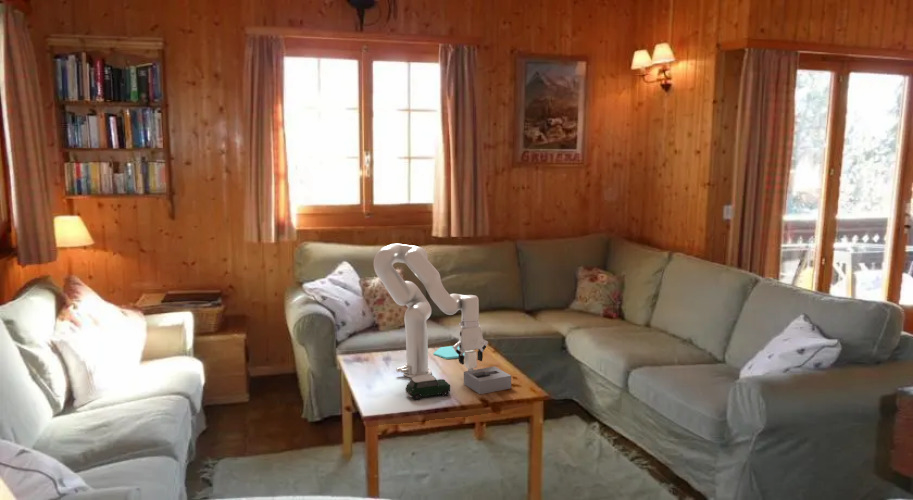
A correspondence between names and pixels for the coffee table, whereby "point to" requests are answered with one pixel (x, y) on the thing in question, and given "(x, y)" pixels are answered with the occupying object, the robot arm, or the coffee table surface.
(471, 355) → the keyhole peg
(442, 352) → the plaque
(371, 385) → the coffee table surface
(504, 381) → the keyhole board
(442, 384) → the miniature car
